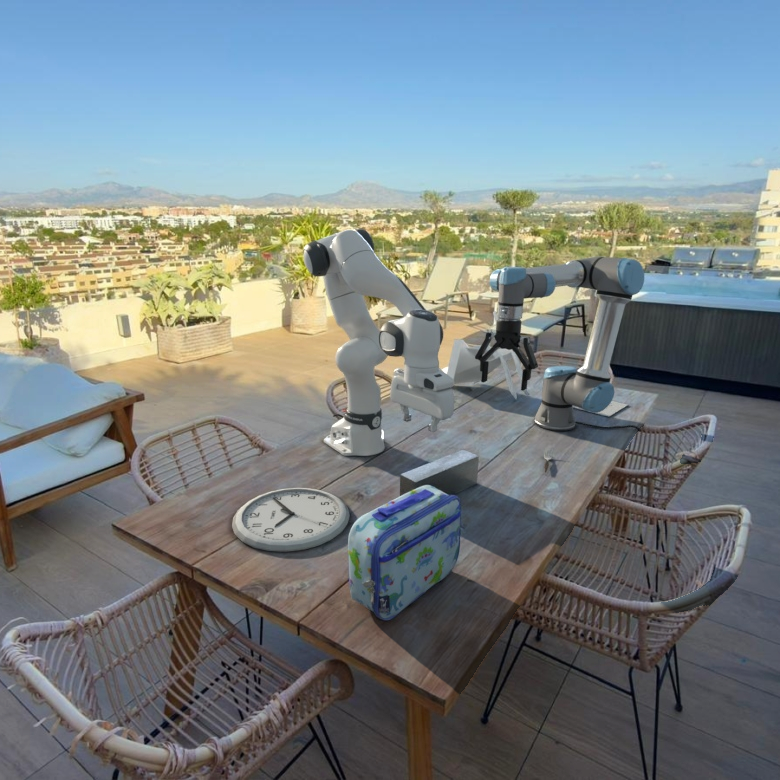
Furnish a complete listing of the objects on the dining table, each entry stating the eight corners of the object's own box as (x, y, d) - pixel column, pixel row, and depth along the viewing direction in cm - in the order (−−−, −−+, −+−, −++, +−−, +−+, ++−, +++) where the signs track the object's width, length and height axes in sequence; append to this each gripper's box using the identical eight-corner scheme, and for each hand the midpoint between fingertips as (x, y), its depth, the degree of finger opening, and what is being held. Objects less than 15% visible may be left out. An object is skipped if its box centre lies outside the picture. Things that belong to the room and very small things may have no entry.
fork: (540, 473, 163) (541, 467, 163) (544, 453, 178) (545, 448, 177) (549, 474, 162) (550, 468, 162) (552, 454, 177) (553, 449, 176)
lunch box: (378, 635, 98) (379, 537, 91) (341, 606, 105) (340, 513, 99) (464, 574, 115) (470, 488, 109) (427, 553, 122) (431, 471, 116)
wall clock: (350, 543, 123) (219, 547, 120) (350, 549, 123) (220, 553, 121) (349, 483, 151) (243, 486, 149) (349, 488, 152) (243, 491, 149)
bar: (461, 477, 160) (463, 449, 158) (476, 484, 156) (479, 455, 153) (399, 504, 144) (400, 474, 141) (414, 513, 140) (415, 482, 137)
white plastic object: (461, 429, 252) (437, 405, 227) (444, 352, 274) (420, 323, 250) (535, 404, 240) (518, 377, 215) (510, 326, 262) (492, 293, 237)
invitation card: (608, 416, 214) (573, 407, 224) (608, 416, 214) (573, 408, 224) (628, 404, 229) (594, 396, 238) (628, 405, 229) (594, 397, 238)
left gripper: (385, 368, 138) (384, 417, 142) (441, 386, 124) (439, 440, 128) (402, 364, 142) (401, 412, 146) (459, 381, 128) (456, 434, 132)
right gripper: (467, 315, 164) (463, 380, 170) (544, 325, 150) (536, 396, 156) (478, 313, 170) (474, 376, 176) (553, 322, 155) (546, 390, 162)
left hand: (419, 425), depth 137 cm, fingers open, 8 cm apart
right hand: (503, 385), depth 166 cm, fingers open, 13 cm apart
